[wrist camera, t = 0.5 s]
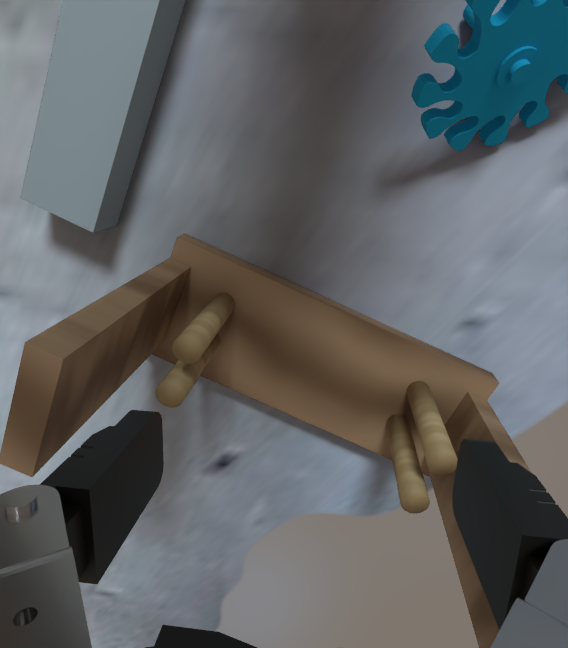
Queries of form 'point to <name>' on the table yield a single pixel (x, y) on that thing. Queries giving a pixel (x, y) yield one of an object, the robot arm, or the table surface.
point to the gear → (496, 69)
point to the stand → (265, 376)
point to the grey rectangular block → (97, 106)
